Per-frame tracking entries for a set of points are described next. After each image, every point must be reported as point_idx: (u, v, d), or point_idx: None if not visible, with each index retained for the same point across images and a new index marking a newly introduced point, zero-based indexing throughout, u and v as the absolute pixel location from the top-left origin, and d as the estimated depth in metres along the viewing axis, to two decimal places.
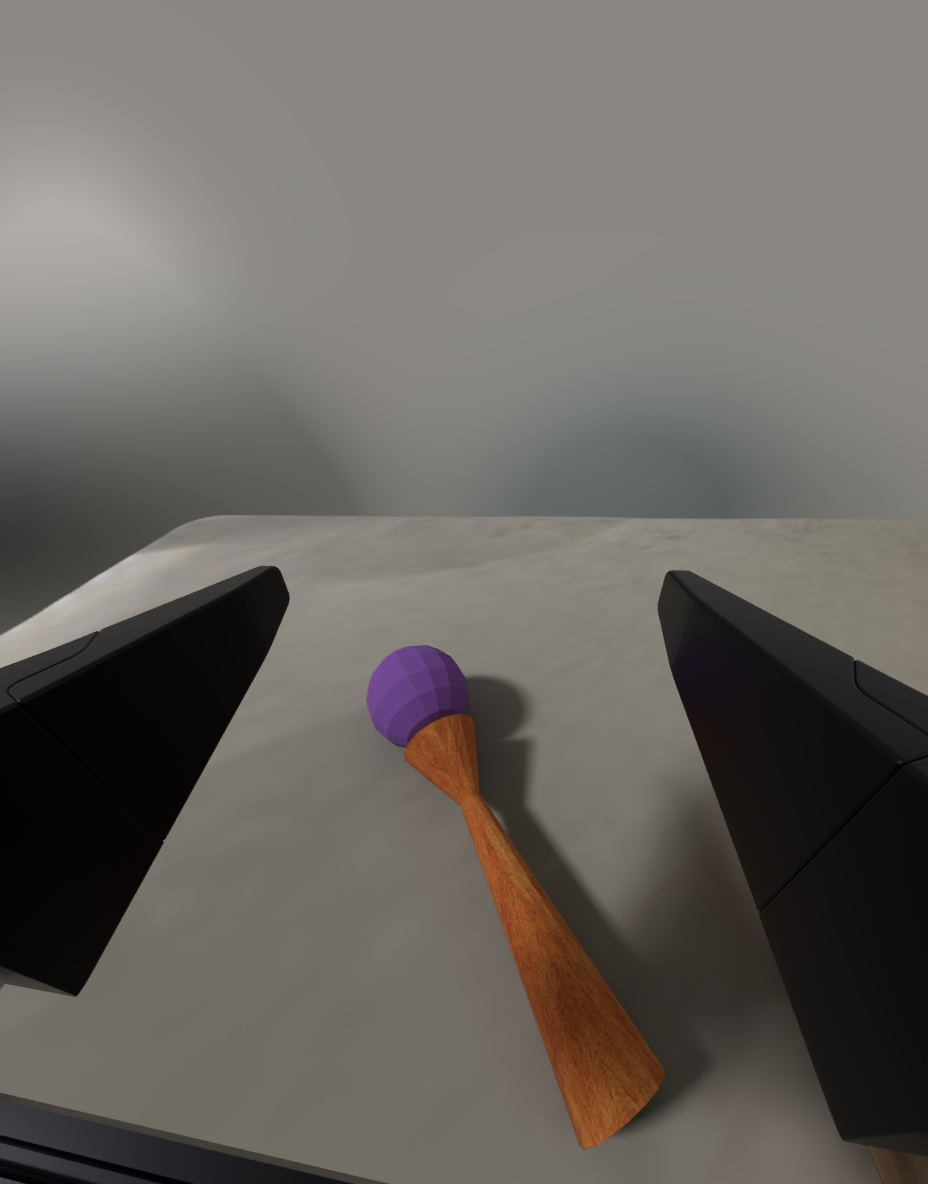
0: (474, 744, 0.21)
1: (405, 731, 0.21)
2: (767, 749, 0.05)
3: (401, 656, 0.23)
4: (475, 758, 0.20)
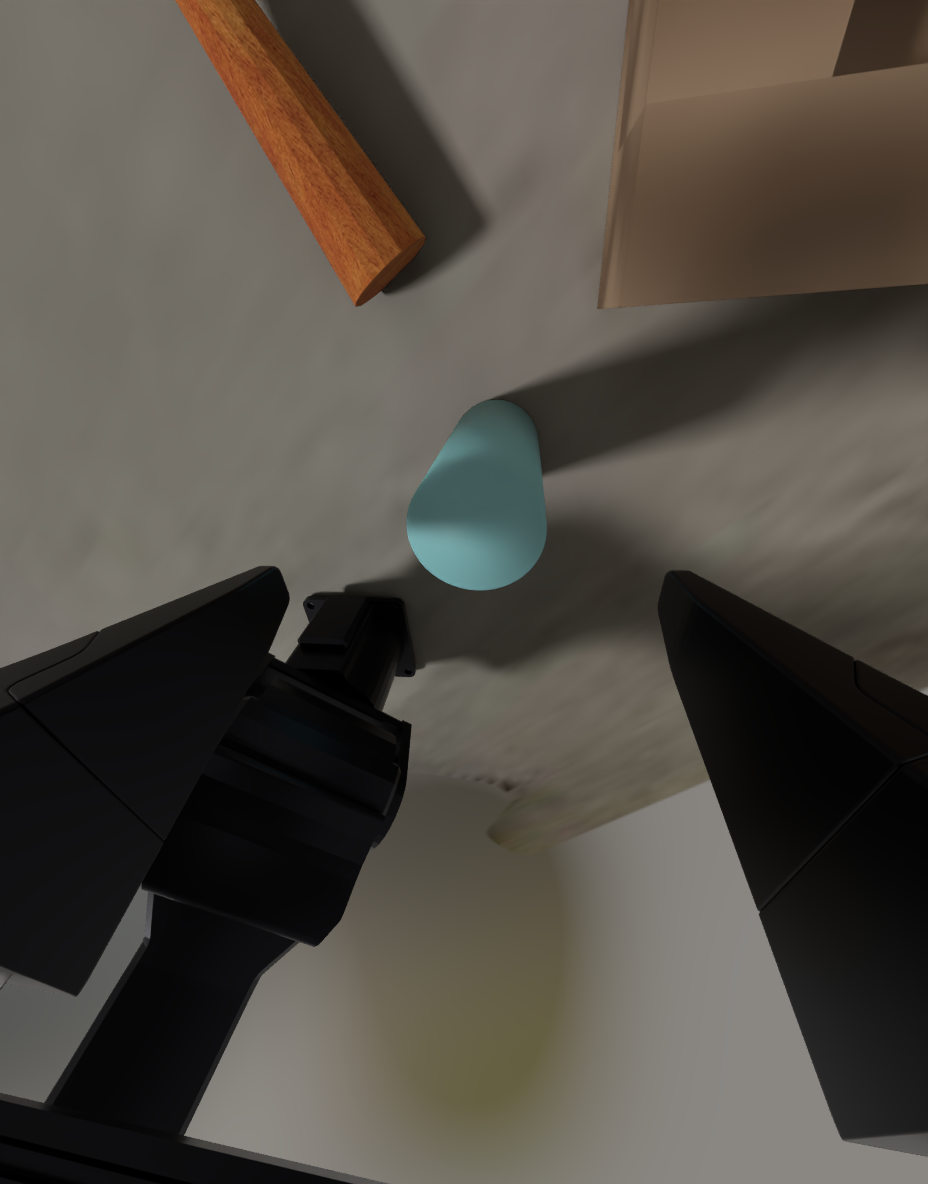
0: None
1: None
2: (767, 749, 0.05)
3: None
4: None
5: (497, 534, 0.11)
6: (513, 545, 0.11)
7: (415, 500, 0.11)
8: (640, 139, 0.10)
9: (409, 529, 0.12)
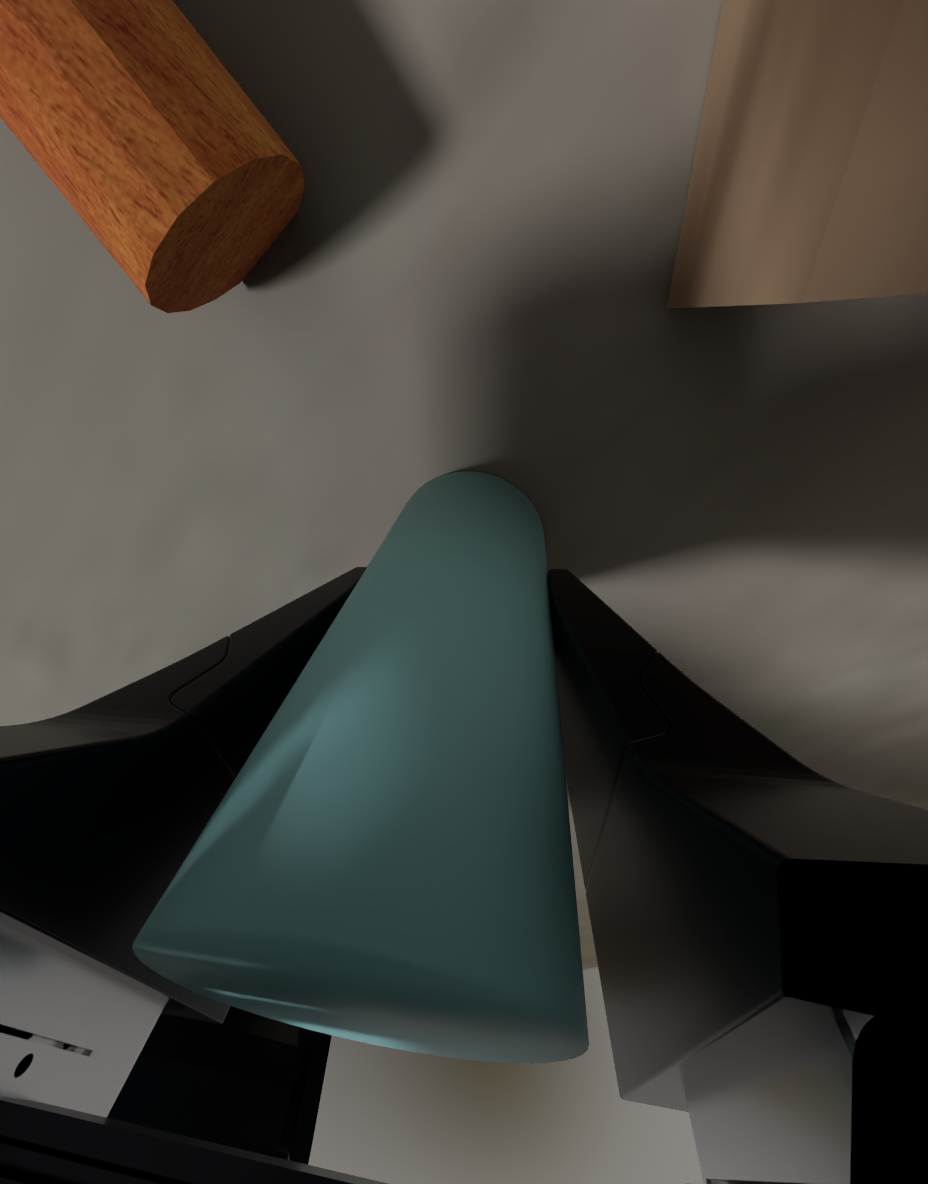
0: None
1: None
2: (582, 736, 0.06)
3: None
4: None
5: (426, 1024, 0.04)
6: (480, 1040, 0.04)
7: (146, 948, 0.03)
8: None
9: (166, 975, 0.04)
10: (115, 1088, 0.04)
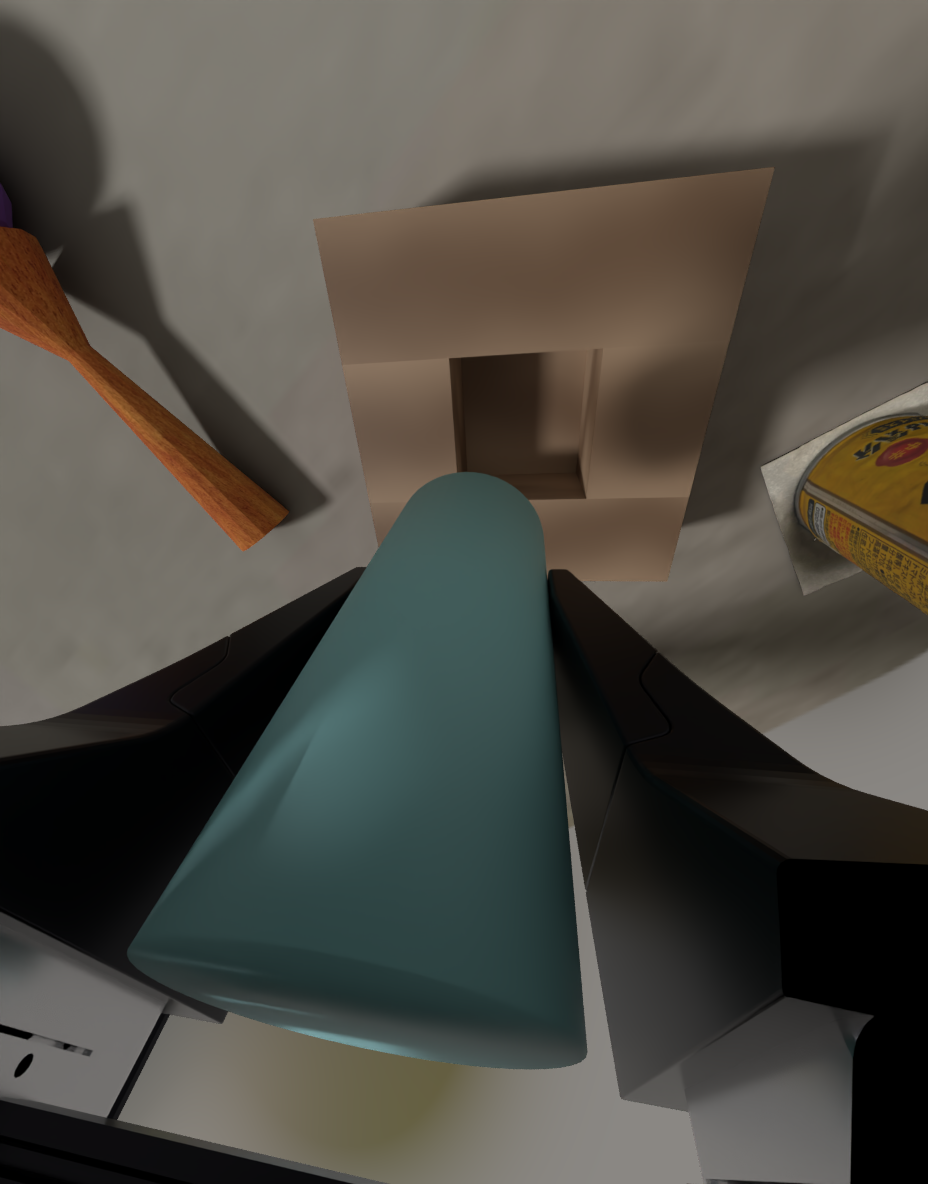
0: (26, 277, 0.15)
1: None
2: (582, 737, 0.06)
3: None
4: (43, 300, 0.16)
5: (425, 1030, 0.04)
6: (477, 1045, 0.04)
7: (141, 955, 0.03)
8: (372, 513, 0.18)
9: (161, 981, 0.04)
10: (115, 1089, 0.04)
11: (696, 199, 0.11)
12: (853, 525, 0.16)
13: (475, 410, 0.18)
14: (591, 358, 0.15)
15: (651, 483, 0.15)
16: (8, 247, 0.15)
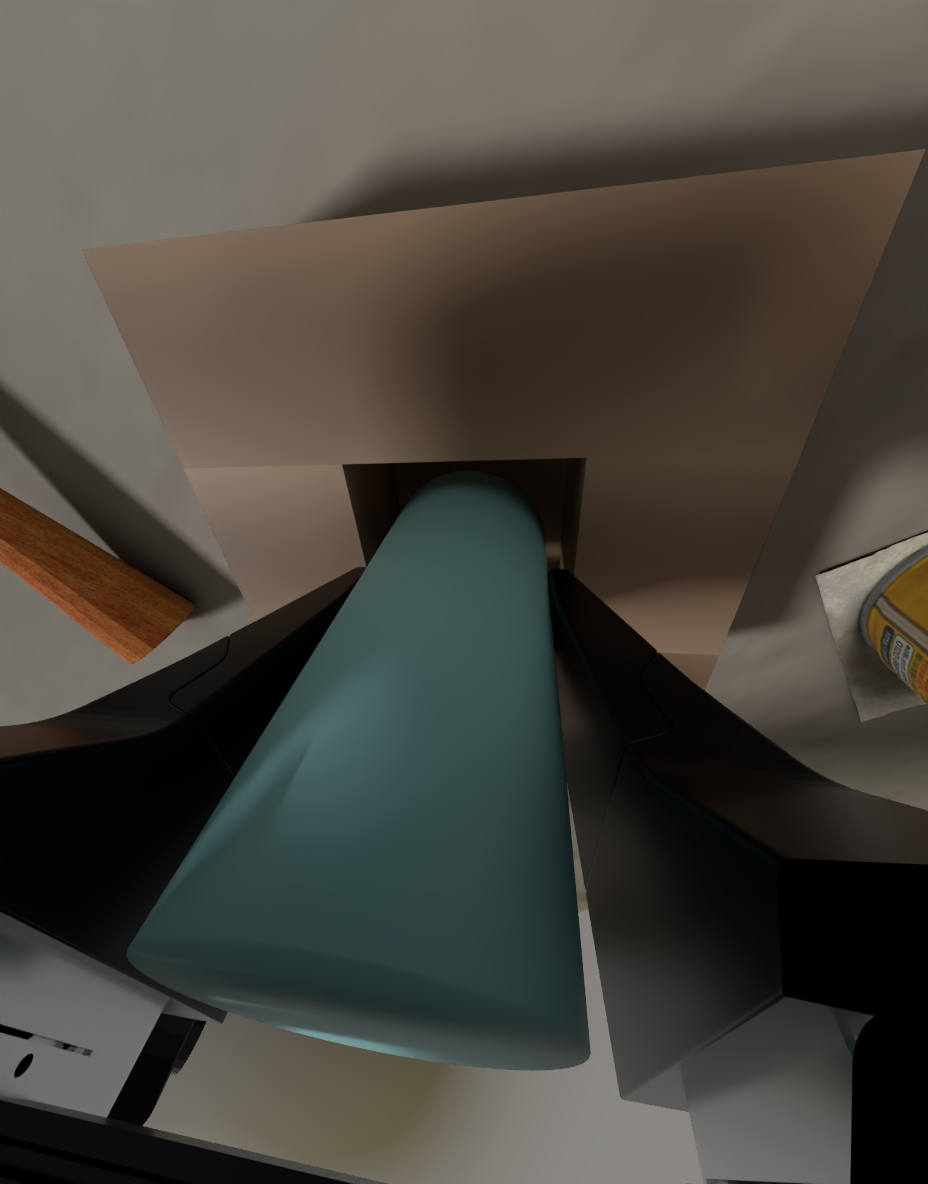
0: None
1: None
2: (582, 736, 0.06)
3: None
4: None
5: (426, 1031, 0.03)
6: (480, 1047, 0.04)
7: (141, 955, 0.03)
8: None
9: (162, 980, 0.04)
10: (115, 1088, 0.04)
11: (760, 213, 0.06)
12: None
13: None
14: None
15: (662, 636, 0.10)
16: None
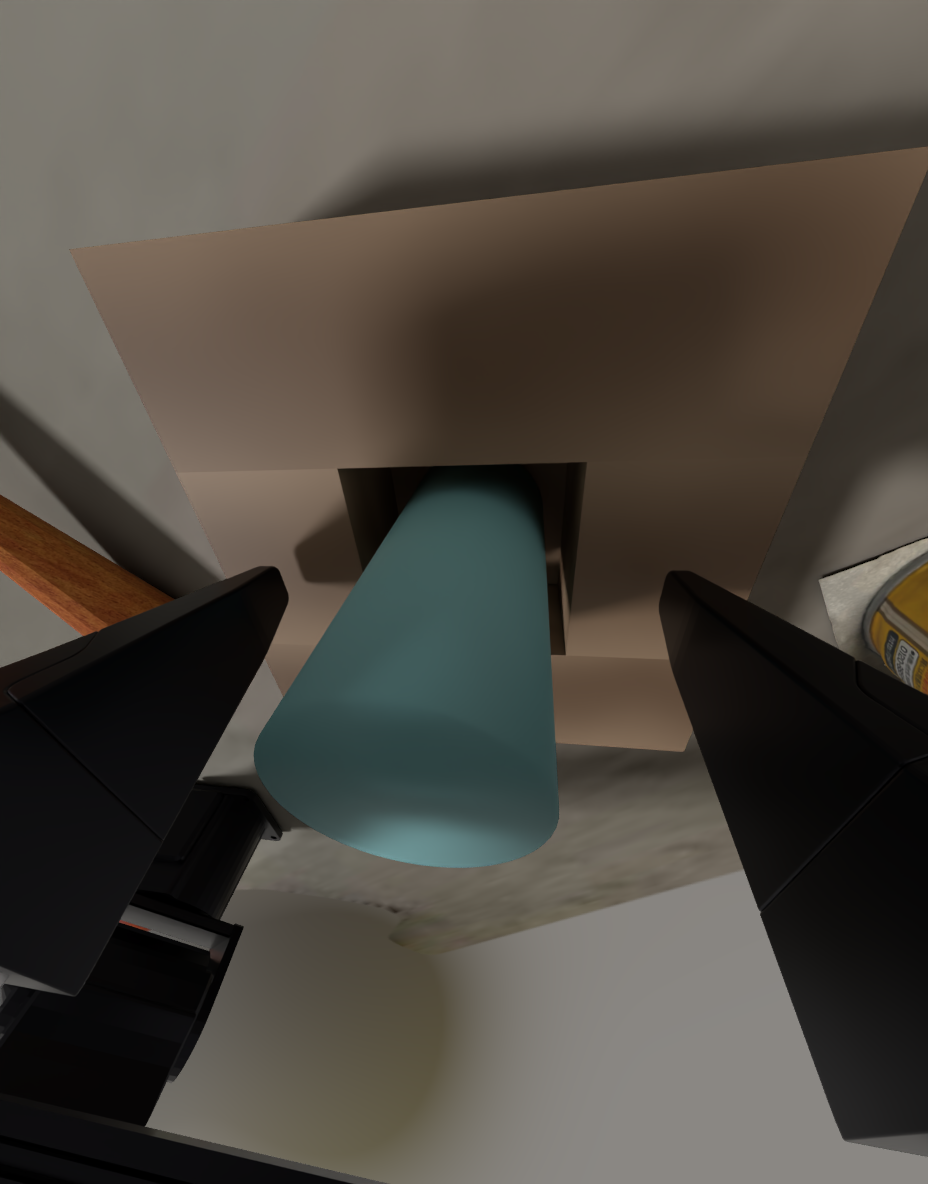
0: None
1: None
2: (768, 749, 0.05)
3: None
4: None
5: (450, 808, 0.05)
6: (485, 825, 0.05)
7: (264, 745, 0.05)
8: None
9: (266, 783, 0.05)
10: None
11: (766, 212, 0.06)
12: None
13: None
14: None
15: (664, 642, 0.10)
16: None
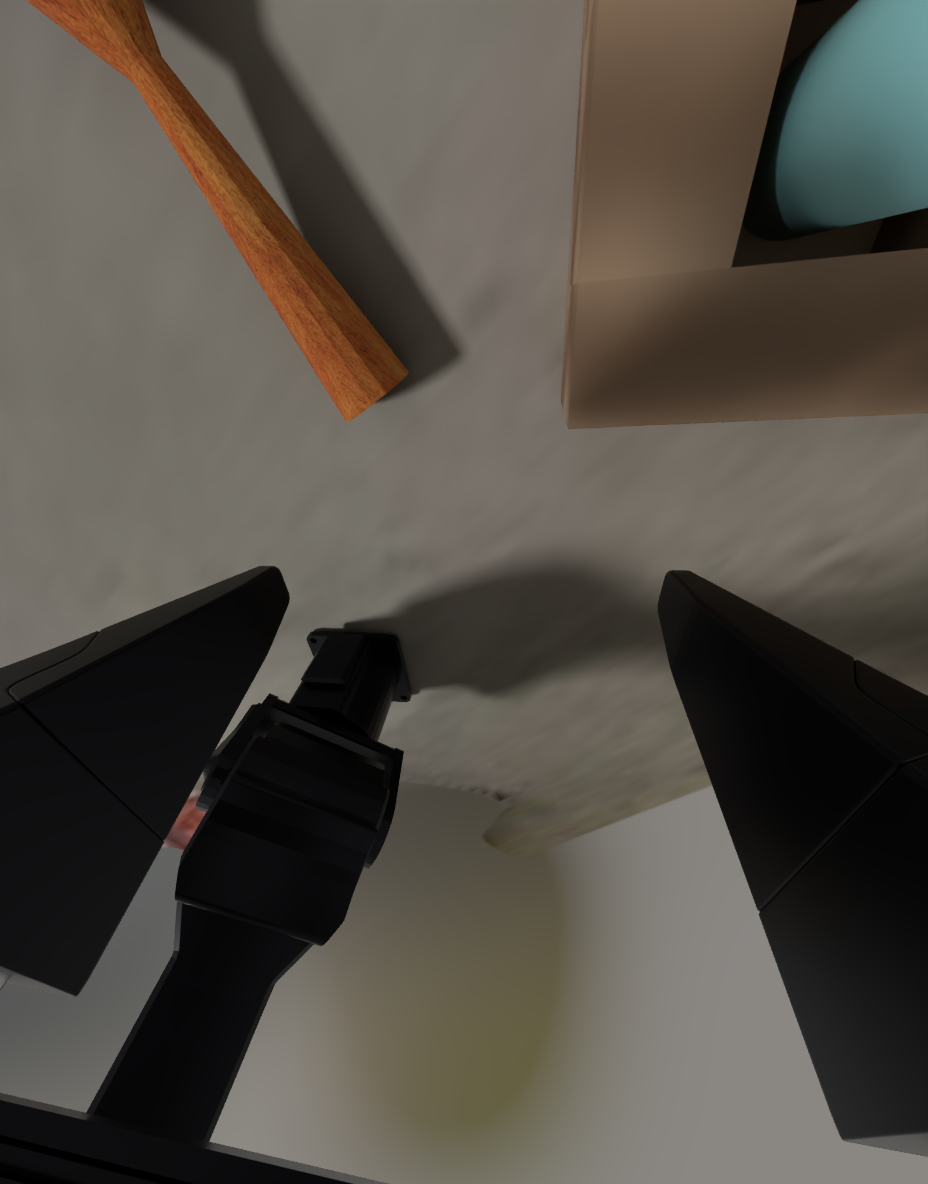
0: None
1: None
2: (767, 749, 0.05)
3: None
4: None
5: None
6: None
7: None
8: (576, 306, 0.12)
9: None
10: None
11: None
12: None
13: None
14: None
15: None
16: None
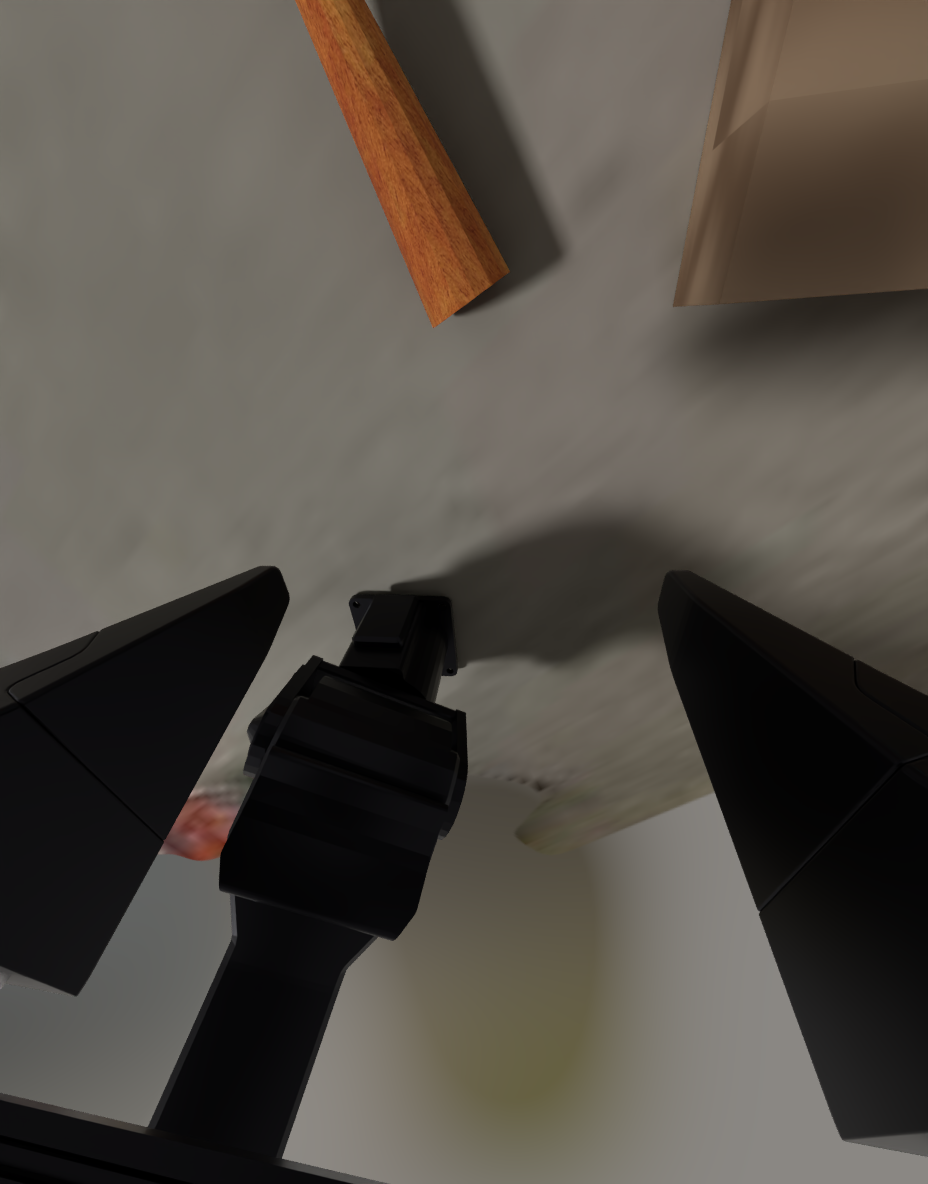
0: None
1: None
2: (767, 749, 0.05)
3: None
4: None
5: None
6: None
7: None
8: (758, 136, 0.10)
9: None
10: None
11: None
12: None
13: None
14: None
15: None
16: None
